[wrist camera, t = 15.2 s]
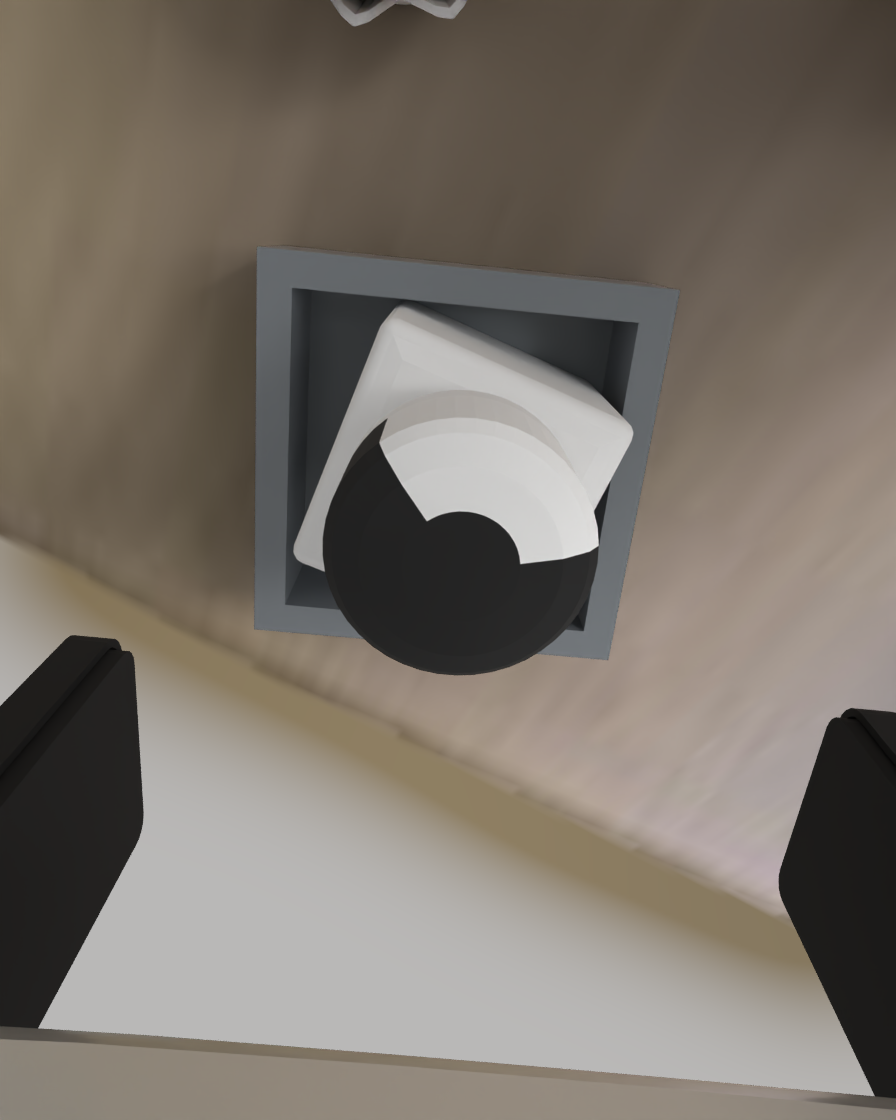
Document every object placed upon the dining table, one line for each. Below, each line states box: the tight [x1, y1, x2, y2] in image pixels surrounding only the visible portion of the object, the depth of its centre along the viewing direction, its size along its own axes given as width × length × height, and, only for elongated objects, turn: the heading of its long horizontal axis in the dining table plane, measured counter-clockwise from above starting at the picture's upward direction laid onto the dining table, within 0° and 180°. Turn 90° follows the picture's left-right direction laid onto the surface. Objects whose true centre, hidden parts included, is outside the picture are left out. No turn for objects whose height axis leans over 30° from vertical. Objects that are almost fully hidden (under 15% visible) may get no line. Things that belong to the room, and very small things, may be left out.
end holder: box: [254, 245, 680, 660], centre depth 27 cm, size 12×12×4 cm
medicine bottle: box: [293, 299, 633, 675], centre depth 22 cm, size 7×7×12 cm
